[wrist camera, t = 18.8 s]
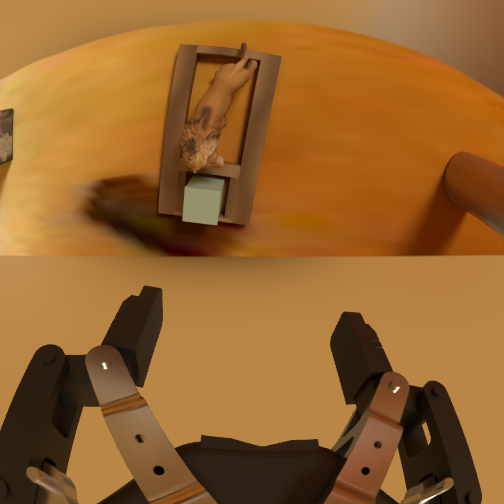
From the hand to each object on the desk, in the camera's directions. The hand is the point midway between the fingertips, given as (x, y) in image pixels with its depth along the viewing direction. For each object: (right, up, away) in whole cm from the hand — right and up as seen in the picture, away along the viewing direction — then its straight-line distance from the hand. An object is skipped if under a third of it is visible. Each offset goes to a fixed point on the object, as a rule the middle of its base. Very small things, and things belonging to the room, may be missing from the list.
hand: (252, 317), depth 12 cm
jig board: (-4, +17, +20) cm, 27 cm away
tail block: (-6, +11, +24) cm, 27 cm away
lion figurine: (-3, +21, +18) cm, 28 cm away
